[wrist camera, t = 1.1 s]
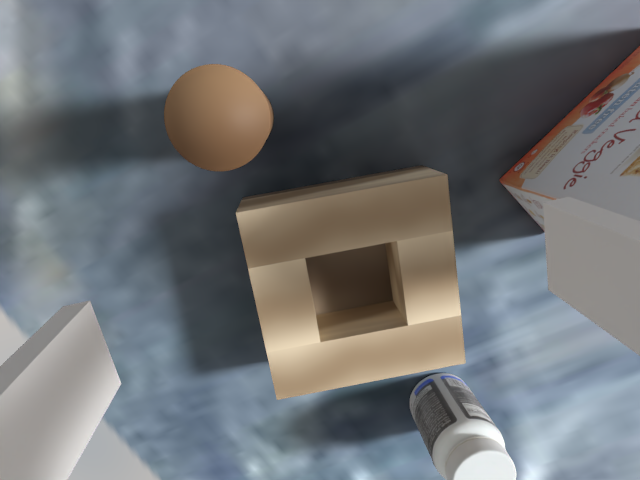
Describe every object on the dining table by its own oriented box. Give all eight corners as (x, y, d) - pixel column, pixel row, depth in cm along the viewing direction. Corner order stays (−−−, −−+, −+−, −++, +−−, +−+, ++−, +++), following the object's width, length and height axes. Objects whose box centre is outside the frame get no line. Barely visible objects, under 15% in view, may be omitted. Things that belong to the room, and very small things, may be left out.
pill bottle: (416, 433, 37) (455, 523, 29) (401, 382, 36) (436, 461, 28) (475, 414, 37) (530, 499, 29) (462, 362, 36) (515, 436, 28)
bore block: (242, 197, 31) (235, 212, 26) (421, 165, 32) (447, 174, 27) (277, 359, 34) (277, 399, 30) (440, 328, 35) (465, 363, 30)
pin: (202, 89, 29) (152, 74, 18) (267, 78, 30) (258, 55, 18) (217, 154, 30) (178, 179, 19) (279, 143, 31) (278, 161, 19)
